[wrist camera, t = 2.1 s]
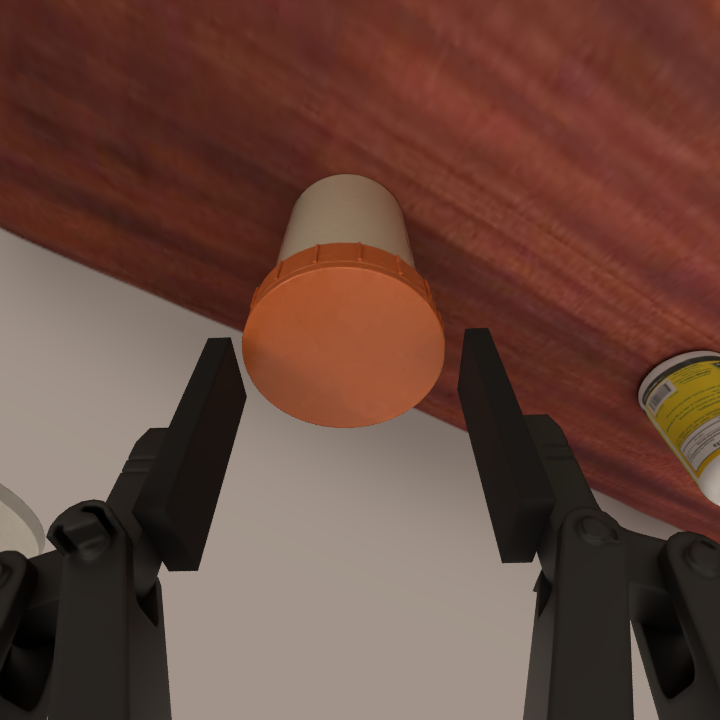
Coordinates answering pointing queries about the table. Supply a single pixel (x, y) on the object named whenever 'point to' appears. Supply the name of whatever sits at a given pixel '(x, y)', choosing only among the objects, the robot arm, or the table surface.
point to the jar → (347, 217)
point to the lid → (343, 336)
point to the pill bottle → (688, 414)
